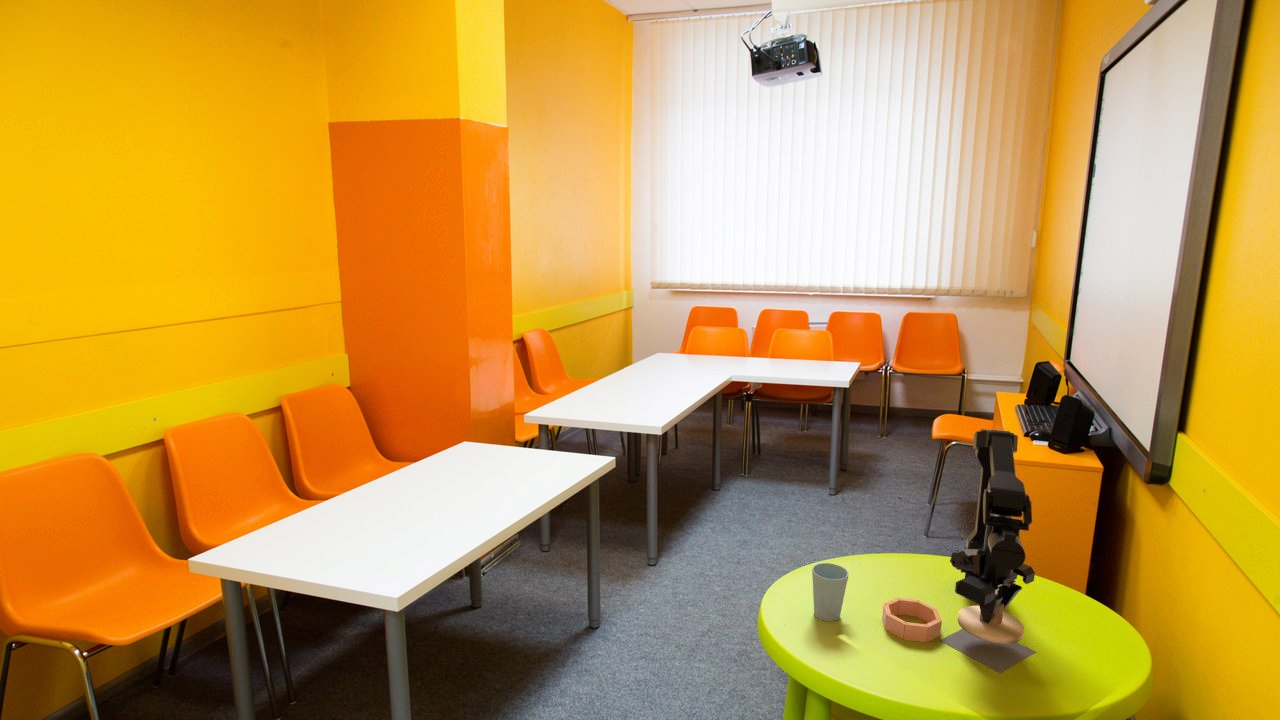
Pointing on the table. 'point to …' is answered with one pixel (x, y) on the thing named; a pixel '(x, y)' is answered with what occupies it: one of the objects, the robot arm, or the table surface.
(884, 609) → the ring
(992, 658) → the mat
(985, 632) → the lid
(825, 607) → the cup
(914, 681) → the table surface
